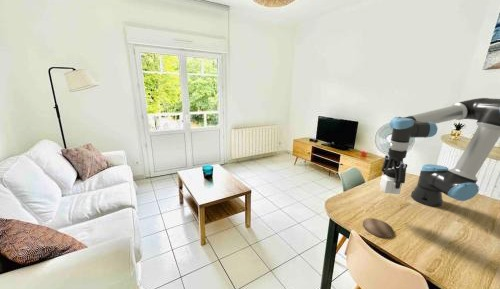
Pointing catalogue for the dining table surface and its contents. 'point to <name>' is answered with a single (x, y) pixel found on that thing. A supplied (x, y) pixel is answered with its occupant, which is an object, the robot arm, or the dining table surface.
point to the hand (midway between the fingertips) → (389, 189)
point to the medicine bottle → (388, 181)
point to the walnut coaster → (378, 228)
